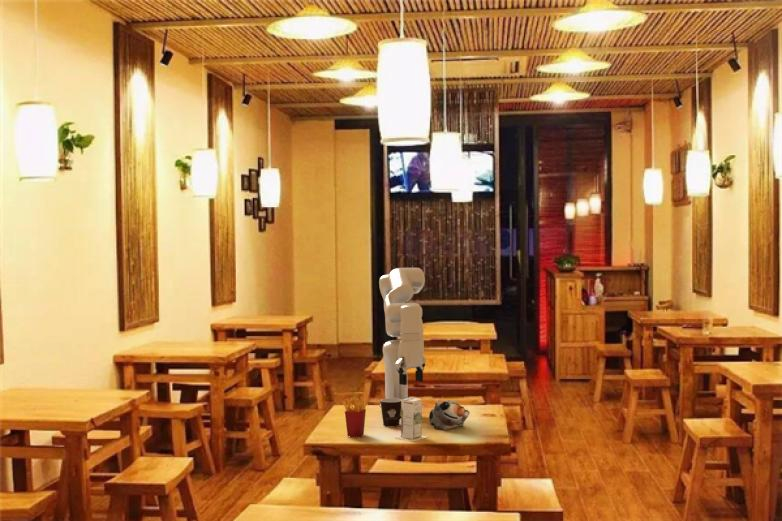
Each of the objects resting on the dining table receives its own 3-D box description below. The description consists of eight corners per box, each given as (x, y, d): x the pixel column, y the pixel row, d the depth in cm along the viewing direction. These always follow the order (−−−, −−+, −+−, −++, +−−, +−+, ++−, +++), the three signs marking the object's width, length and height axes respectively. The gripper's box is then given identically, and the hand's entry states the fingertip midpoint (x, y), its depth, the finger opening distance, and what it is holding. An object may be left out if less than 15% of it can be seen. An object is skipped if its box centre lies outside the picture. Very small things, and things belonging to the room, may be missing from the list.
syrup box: (409, 434, 343) (409, 396, 342) (422, 436, 339) (422, 398, 339) (400, 437, 338) (400, 399, 337) (413, 439, 334) (413, 400, 334)
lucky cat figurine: (465, 423, 362) (474, 396, 355) (461, 441, 351) (469, 413, 345) (430, 412, 364) (437, 385, 357) (424, 429, 353) (432, 402, 346)
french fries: (361, 438, 338) (360, 398, 338) (340, 437, 341) (340, 397, 340) (368, 433, 347) (367, 394, 346) (348, 432, 349) (347, 393, 349)
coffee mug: (377, 426, 359) (377, 401, 358) (385, 422, 367) (384, 397, 366) (404, 428, 355) (404, 403, 354) (411, 423, 363) (411, 399, 362)
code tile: (394, 438, 338) (394, 437, 338) (409, 433, 345) (409, 433, 345) (413, 441, 332) (413, 441, 332) (428, 437, 339) (428, 436, 339)
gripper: (417, 335, 346) (417, 379, 347) (388, 339, 333) (388, 385, 333) (432, 336, 341) (433, 380, 342) (404, 340, 328) (404, 386, 329)
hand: (411, 382), depth 338 cm, fingers open, 9 cm apart
